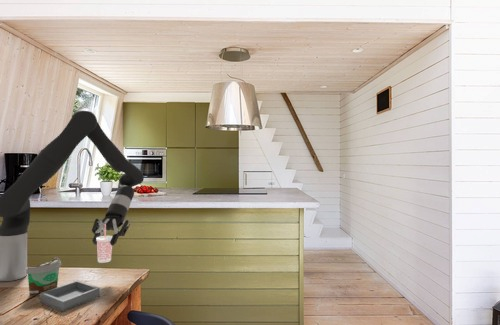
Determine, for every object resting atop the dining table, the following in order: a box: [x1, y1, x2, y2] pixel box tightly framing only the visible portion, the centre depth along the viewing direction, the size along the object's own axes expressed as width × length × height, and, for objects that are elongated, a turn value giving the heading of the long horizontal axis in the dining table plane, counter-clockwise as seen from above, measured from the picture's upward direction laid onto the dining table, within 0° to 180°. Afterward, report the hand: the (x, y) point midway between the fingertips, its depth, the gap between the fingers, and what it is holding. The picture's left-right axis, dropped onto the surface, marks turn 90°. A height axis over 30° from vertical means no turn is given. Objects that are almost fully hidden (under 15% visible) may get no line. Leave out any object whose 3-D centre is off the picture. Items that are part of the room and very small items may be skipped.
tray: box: [39, 280, 101, 312], centre depth 105 cm, size 13×13×3 cm
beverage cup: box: [96, 224, 113, 264], centre depth 121 cm, size 6×6×14 cm
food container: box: [26, 256, 62, 297], centre depth 112 cm, size 12×6×10 cm, turn 168°
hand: (103, 243), depth 120 cm, fingers closed on beverage cup, 6 cm apart
